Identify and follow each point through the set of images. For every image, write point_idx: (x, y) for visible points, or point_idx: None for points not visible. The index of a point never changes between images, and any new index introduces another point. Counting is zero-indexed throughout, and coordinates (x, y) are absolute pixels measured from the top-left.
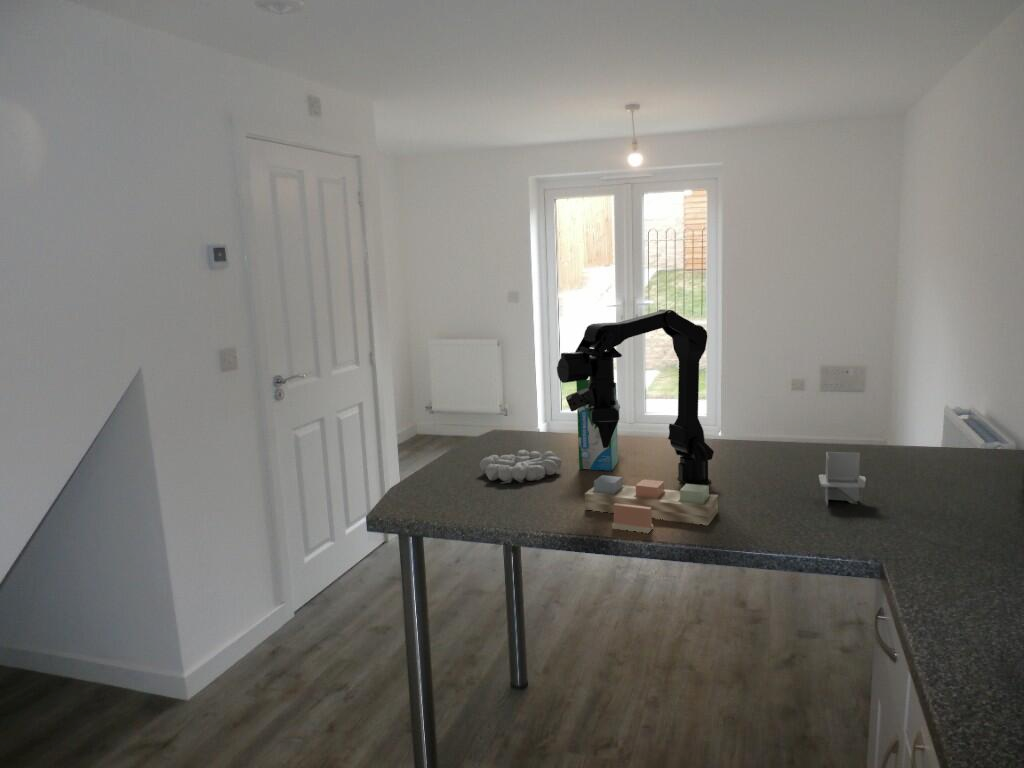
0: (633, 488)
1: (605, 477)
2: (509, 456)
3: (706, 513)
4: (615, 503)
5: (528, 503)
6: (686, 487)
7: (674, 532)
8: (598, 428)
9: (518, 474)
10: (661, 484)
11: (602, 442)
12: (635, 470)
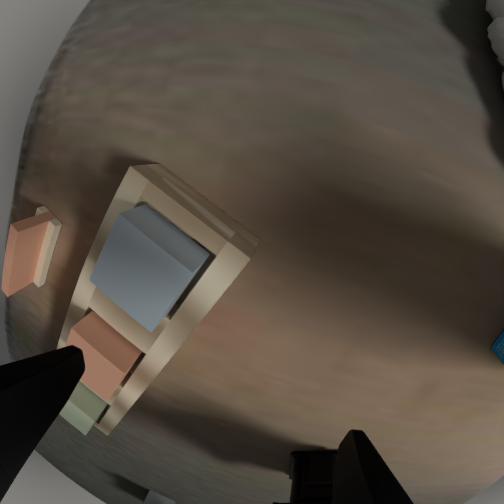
0: (155, 338)
1: (156, 275)
2: None
3: None
4: (16, 231)
5: (280, 4)
6: (70, 405)
7: (36, 308)
8: (369, 486)
9: (493, 29)
10: (88, 384)
11: (40, 357)
12: (459, 396)
